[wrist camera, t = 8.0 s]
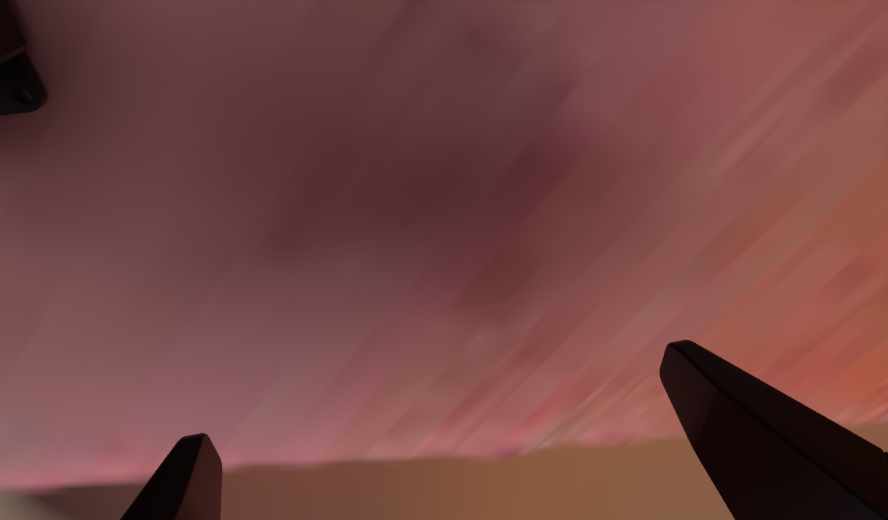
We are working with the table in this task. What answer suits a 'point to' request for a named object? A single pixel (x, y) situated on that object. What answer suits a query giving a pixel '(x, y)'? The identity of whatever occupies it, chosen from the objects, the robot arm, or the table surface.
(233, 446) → the table surface
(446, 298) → the table surface
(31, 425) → the table surface
